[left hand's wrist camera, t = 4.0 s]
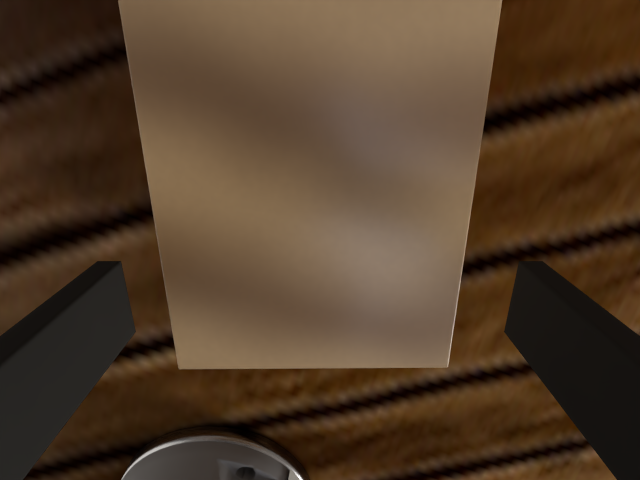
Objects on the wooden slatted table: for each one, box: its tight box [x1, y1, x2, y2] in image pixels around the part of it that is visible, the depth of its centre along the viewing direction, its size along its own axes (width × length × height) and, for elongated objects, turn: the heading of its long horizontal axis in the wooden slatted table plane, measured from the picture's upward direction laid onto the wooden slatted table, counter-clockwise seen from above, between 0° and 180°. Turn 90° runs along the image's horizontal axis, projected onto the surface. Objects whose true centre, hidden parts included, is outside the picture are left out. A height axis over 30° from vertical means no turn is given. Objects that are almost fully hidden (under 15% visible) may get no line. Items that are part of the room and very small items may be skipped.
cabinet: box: [118, 0, 502, 369], centre depth 16 cm, size 20×11×9 cm, turn 0°
